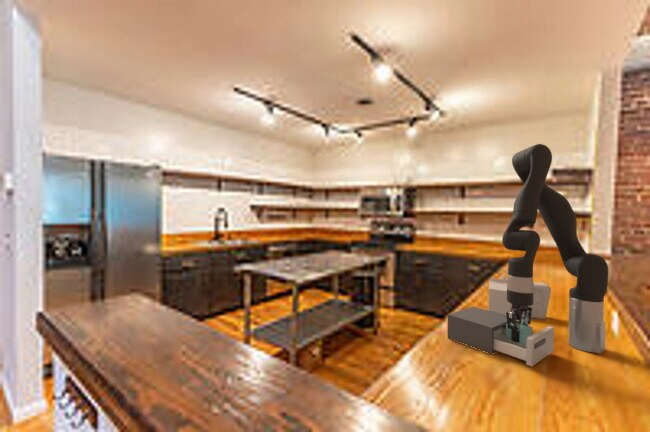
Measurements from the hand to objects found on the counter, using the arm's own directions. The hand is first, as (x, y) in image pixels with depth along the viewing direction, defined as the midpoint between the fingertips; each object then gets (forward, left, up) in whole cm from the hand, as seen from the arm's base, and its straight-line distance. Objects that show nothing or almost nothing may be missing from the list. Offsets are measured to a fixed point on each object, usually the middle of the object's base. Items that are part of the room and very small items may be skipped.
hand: (519, 339), depth 99 cm
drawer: (+1, 0, -4) cm, 4 cm away
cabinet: (+13, 0, -5) cm, 13 cm away
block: (0, 0, 0) cm, 0 cm away
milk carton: (+18, -25, -5) cm, 31 cm away
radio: (+17, -45, -5) cm, 48 cm away
